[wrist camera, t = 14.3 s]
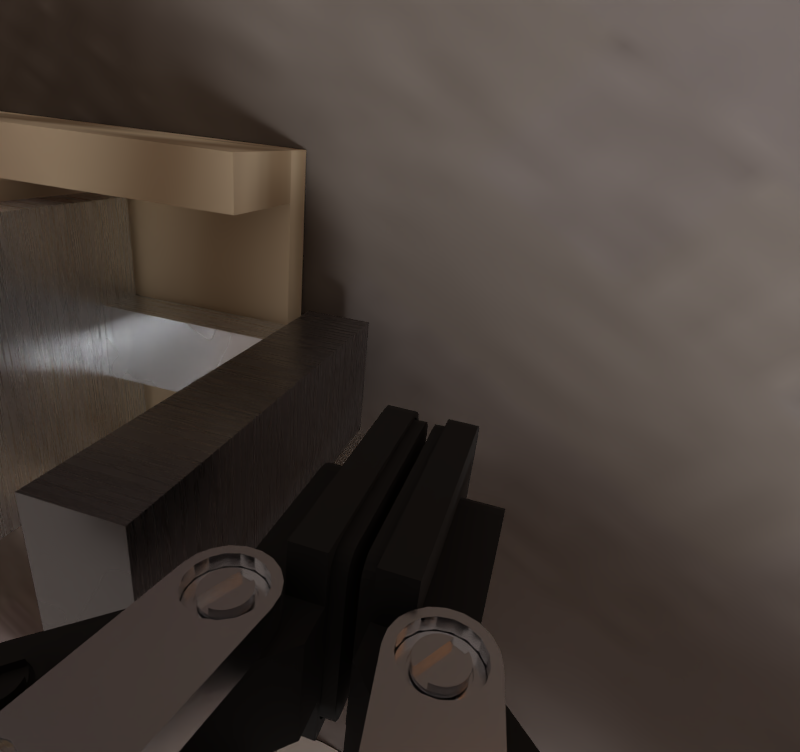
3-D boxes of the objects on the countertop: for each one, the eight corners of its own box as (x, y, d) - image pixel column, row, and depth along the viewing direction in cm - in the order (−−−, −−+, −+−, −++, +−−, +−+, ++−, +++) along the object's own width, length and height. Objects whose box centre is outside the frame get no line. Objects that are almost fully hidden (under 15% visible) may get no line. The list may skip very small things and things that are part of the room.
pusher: (376, 236, 13) (106, 359, 6) (354, 493, 16) (157, 795, 9) (94, 191, 15) (-392, 241, 8) (121, 431, 18) (-210, 638, 10)
